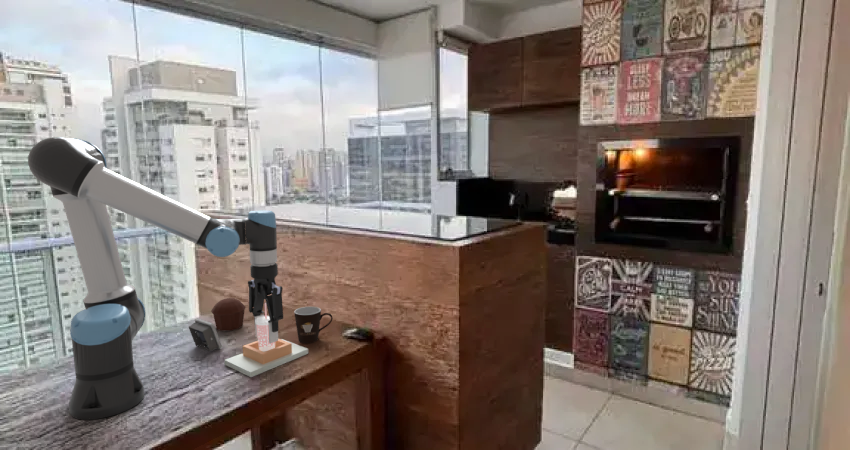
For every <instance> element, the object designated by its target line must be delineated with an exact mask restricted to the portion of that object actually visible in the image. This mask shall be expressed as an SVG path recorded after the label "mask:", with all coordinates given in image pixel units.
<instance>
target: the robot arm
mask: <svg viewBox="0 0 850 450" xmlns="http://www.w3.org/2000/svg"><path fill="white" fill-rule="evenodd" d="M27 164H28V168H29V170H30V172H31V174H32V175H33V176H34V177H35V179H37V180H38V181H39V182H41V183H43V184H44V185H46V186H49V187H50V191H51V195H52V197H53V198H55V199H56V200H58V201H59V202H61V203H62V205H63V208H64V212H65V216H66V220H67V222H68V226H69V229H70V233H71V237H72V239H73V243H74V246H75V251H76V254H77V258H78V261H79V264H80V268H81V271H82V274H83V278H84V282H85V286H86V289H87V294H86V296H85V297H84V299H83V305H84V308H85V309H82V310H80V311H79V312H77V313H76V314H75V315H74V316H73V317H72V319H71V321H70V329H69V330H70V331H69V332H70V338H71V344H72V354H73V363H74V373H75V382H74V386H73V389H72V392H71V396H70V398H69V404H68V407H69V408H68V409H69V414H70V416H72V417H73V418H74V419H77V420H99V419H104V418H108V417H112V416H116V415H118V414H119V415H120V414H121V413H123V412H126V411H128V410H131V409H132V408H134V407H135V406H137V405H139V404H140V403H141V402H142V401H143V399H144V398H145V387H144V384H143V382H142V380H141V378H140V376H139V375H138V373H137V370H136V369H135V365H134V354H133V353H134V352H133V341H134V339H135V337H136V336H137V334H138V333H139V331H141V330H140V329H142V327H143V325H144V324H145V323H144V322H145V320H146V319H145V318H146V307H145V305H144V303H143V302H142V300H141V299H140V298H139V296H138V294H137V290H136V288H135V286H133V285H131V284H129V283H127V279H126V276H125V275H126V274H125V272H124V267H123V265H122V261H121V256H120V253H119V250H118V245H117V242H116V238H115V234H114V231H113V227H112V223H111V219H110V216H109V212H108V207H107V206H109V207H111V208H113V209H115V210H117V211H120V212H122V213H125V214H127V215H129V216H131V217H133V218H136V219H138V220H140V221H142V222H145V223H146V224H147V223H148V224H150V225H152V226H154V227H156V228H159V229H161V230H164V231H166V232H168V233H170V234H173V235H175V236H177V237H179V238H182V239H185V240H186V241H188V242H191V243H194V244H196V245H198V246H200V247H202V248H204V249H207V251H209V252H210V254H211V255H213V256H215V257H218V258H225V257H229V256H231V255H232V254H234V253H235V252H236V251H237V249H238V248H239V246H241V245H242V246H243V245H244V246H245V245H248V246H249V262H250V264H251V265H250V277H251V278H252V279H250V280H248V281H247V286H248V312H249V313H252V316H253V321H254V332H255V333H254V335H255V338H257V339H258V335H257V326H256V323H255V320H256V319H257V318H259V317H263V316H265V311H264V310H263V309H264V305H265V303H266V308H267V312H268V313H267V314H268V316H269V317H270V320H269V321H268V329H269V343H273V342H276V341H278V339H279V321H280V320H283V319H284V308H283V296H282V293H283V287H282V286H281V285H279V286H278V285H277V282H276V281H275V280H276V277H277V276H278V274H279V273H278V270H279V269H278V263H277V262H278V254H277V253H278V249H277V248H278V246H277V245H278V243H277V239H278V238H277V234H278V233H277V218H276V214H275V212H274V211H273V210H266V209H265V210H263V209H262V210H258V209H257V210H250V211H249V212H248V215H247V217H246V218H244V217H243V218H219V219H218V218H213V217H210V216H209V215H206V214H204V213H202V212H200V211H198V210H196V209H193V208H191V207H189V206H187V205H185V204H183V203H181V202H179V201H176V200H174V199H173V198H170V197H168V196H165V195H164V194H162V193H160V192H157V191H155V190H153V189H151V188H149V187H146V186H145V185H142V184H141V183H139V182H136V181H134V180H131V179H129V178H127V177H124V176H123V175H121V174H119V173H116V172H114V171H112V170H111V169H108V168H107V160H106V157H105V154H104V153H103V152H102V151H101V149H100V148H98V147H97V146H96V145H94V144H93V143H91V142H90V141H88V140H84V139H81V138H76V137H75V138H69V137H68V138H67V137H59V136H57V137H56V136H53V137H48V138H45V139H42V140H41V141H38V142H36V143H35V144H34V146H33V147H32V148H31V150H30V151H29V153H28V156H27Z"/></svg>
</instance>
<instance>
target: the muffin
mask: <svg viewBox="0 0 850 450" xmlns="http://www.w3.org/2000/svg"><path fill="white" fill-rule="evenodd" d="M245 310H246V306H245V305H244V304H243V303H242V302H241V300H239V299H237V298H233V297H227V298H224V299H223V298H222V299H220V300H219V301H217V302H216V304H214V306H213V307H212V308H211V313H212V314H213V318H214V323H215V324H214V325H215V329H216V331H221V332H230V331H234V330H235V331H236V330H239V329H240V328H241V327H243V326H244V325H243V324H244V319H245V318H244V317H245Z"/></svg>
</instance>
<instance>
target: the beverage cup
mask: <svg viewBox="0 0 850 450" xmlns="http://www.w3.org/2000/svg"><path fill="white" fill-rule="evenodd" d="M267 312H268V308H267V304H266V302H264V316H263V317H259V318H257V319H256V320H255V323H256V326H257V335H258V338H257V341H258V344H259V350H261V351H268V350H271V349H273V348H275V342H273V343H269V329H268V321H269V320H270V317H269V315H268V313H267Z"/></svg>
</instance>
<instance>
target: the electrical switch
mask: <svg viewBox="0 0 850 450" xmlns="http://www.w3.org/2000/svg"><path fill="white" fill-rule="evenodd" d="M188 329H189V332H190V335H191V337H192V339H193V342H194V344H195V347H197V348H199V349H202V350H204V351H207V352H209V353H212V352H213V351H214V350H216V349H219V350H220V349H222V347H223V346H222V342H221V340H220V337H219V335H218V332H217V331H218V330H217V328H216V325H215V324H214V323H213V322H210V321H206V320H203V319H200V318H195V319H194V323H192V324H191V325H188Z"/></svg>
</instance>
